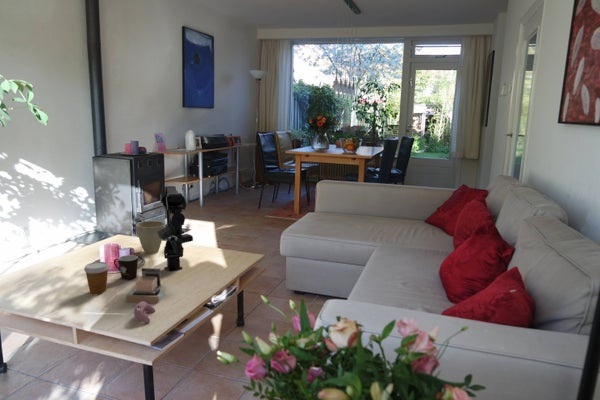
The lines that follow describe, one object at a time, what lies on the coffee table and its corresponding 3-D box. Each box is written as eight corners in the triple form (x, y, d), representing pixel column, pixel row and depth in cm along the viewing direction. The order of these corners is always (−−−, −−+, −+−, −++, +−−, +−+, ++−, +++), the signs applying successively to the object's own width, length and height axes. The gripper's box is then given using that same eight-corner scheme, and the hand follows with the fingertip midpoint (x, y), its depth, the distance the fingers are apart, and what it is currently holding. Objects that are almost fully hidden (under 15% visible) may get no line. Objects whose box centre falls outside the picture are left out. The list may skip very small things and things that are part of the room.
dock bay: (135, 294, 185) (134, 287, 185) (165, 295, 185) (164, 288, 185) (126, 303, 177) (126, 296, 176) (158, 304, 176) (158, 297, 176)
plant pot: (132, 254, 237) (130, 226, 235) (145, 247, 252) (144, 220, 249) (157, 256, 235) (156, 228, 232) (170, 249, 250) (169, 221, 247)
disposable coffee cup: (98, 297, 181) (96, 270, 179) (80, 294, 184) (78, 266, 182) (115, 289, 190) (113, 263, 187) (98, 286, 193) (96, 260, 191)
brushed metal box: (142, 291, 188) (142, 267, 186) (161, 291, 188) (160, 268, 186) (134, 299, 179) (133, 275, 177) (154, 300, 179) (153, 275, 177)
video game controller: (145, 316, 169) (136, 301, 168) (156, 311, 169) (147, 295, 168) (139, 328, 159) (129, 312, 158) (150, 322, 159) (141, 306, 158)
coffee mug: (142, 278, 203) (141, 258, 201) (124, 283, 197) (123, 262, 195) (130, 272, 211) (129, 252, 209) (112, 276, 205) (111, 256, 203)
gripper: (148, 219, 201) (149, 252, 203) (171, 227, 189) (172, 261, 191) (169, 216, 209) (170, 247, 212) (193, 223, 197) (193, 256, 200)
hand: (176, 253), depth 203 cm, fingers closed
